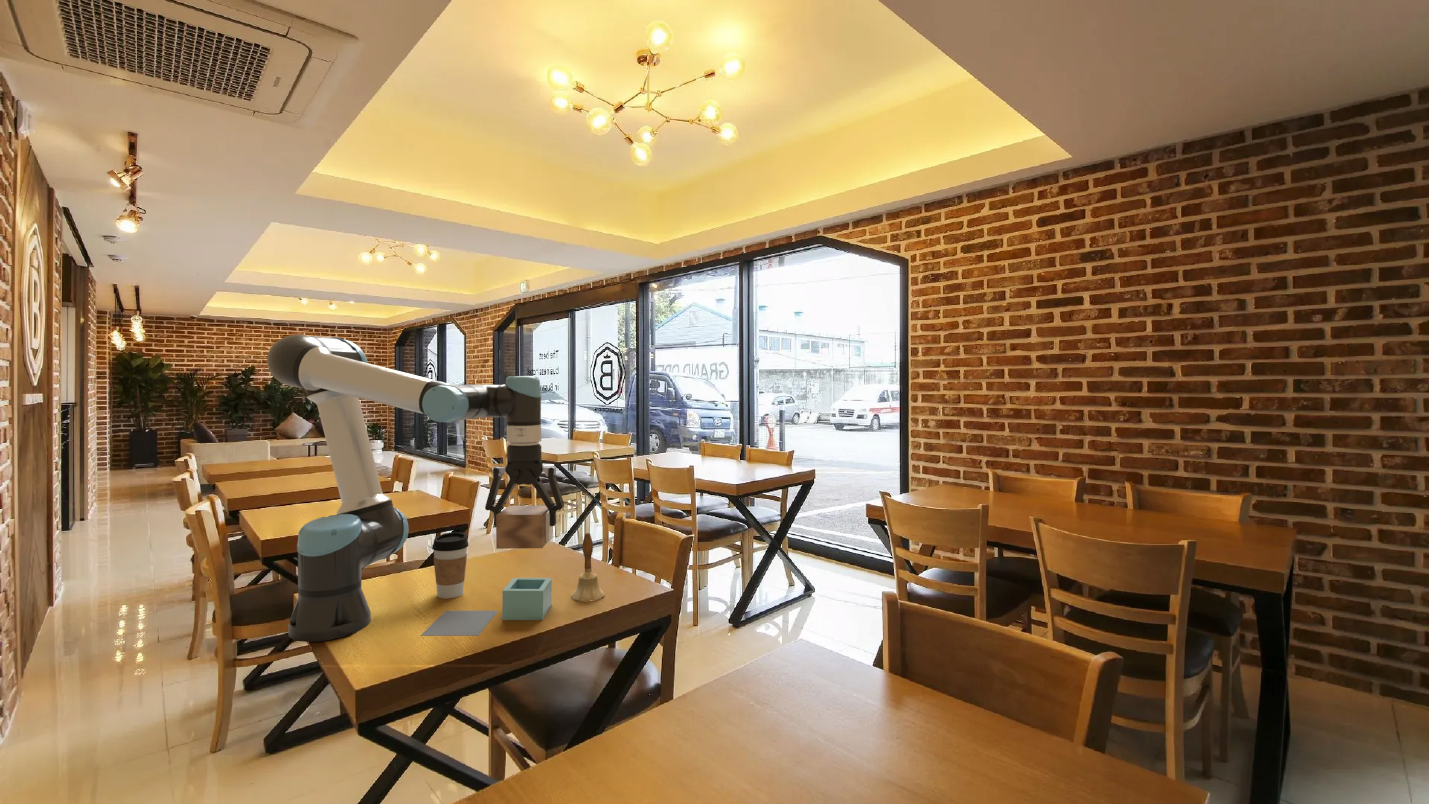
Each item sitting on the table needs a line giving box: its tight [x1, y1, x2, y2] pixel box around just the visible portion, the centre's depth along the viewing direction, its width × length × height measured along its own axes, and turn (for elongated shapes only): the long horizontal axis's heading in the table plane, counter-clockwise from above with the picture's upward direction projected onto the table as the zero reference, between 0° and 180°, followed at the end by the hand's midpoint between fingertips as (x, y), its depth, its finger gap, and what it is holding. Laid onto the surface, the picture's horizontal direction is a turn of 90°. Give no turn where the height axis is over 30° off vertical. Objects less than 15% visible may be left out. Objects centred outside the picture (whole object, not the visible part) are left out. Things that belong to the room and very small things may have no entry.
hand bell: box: [570, 532, 605, 602], centre depth 157 cm, size 8×8×16 cm
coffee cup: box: [431, 531, 470, 600], centre depth 156 cm, size 8×8×15 cm
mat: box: [419, 610, 499, 637], centre depth 138 cm, size 12×14×1 cm
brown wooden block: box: [495, 505, 549, 550], centre depth 143 cm, size 10×10×8 cm
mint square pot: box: [501, 577, 553, 621], centre depth 145 cm, size 9×9×7 cm
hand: (525, 540), depth 144 cm, fingers closed on brown wooden block, 10 cm apart
